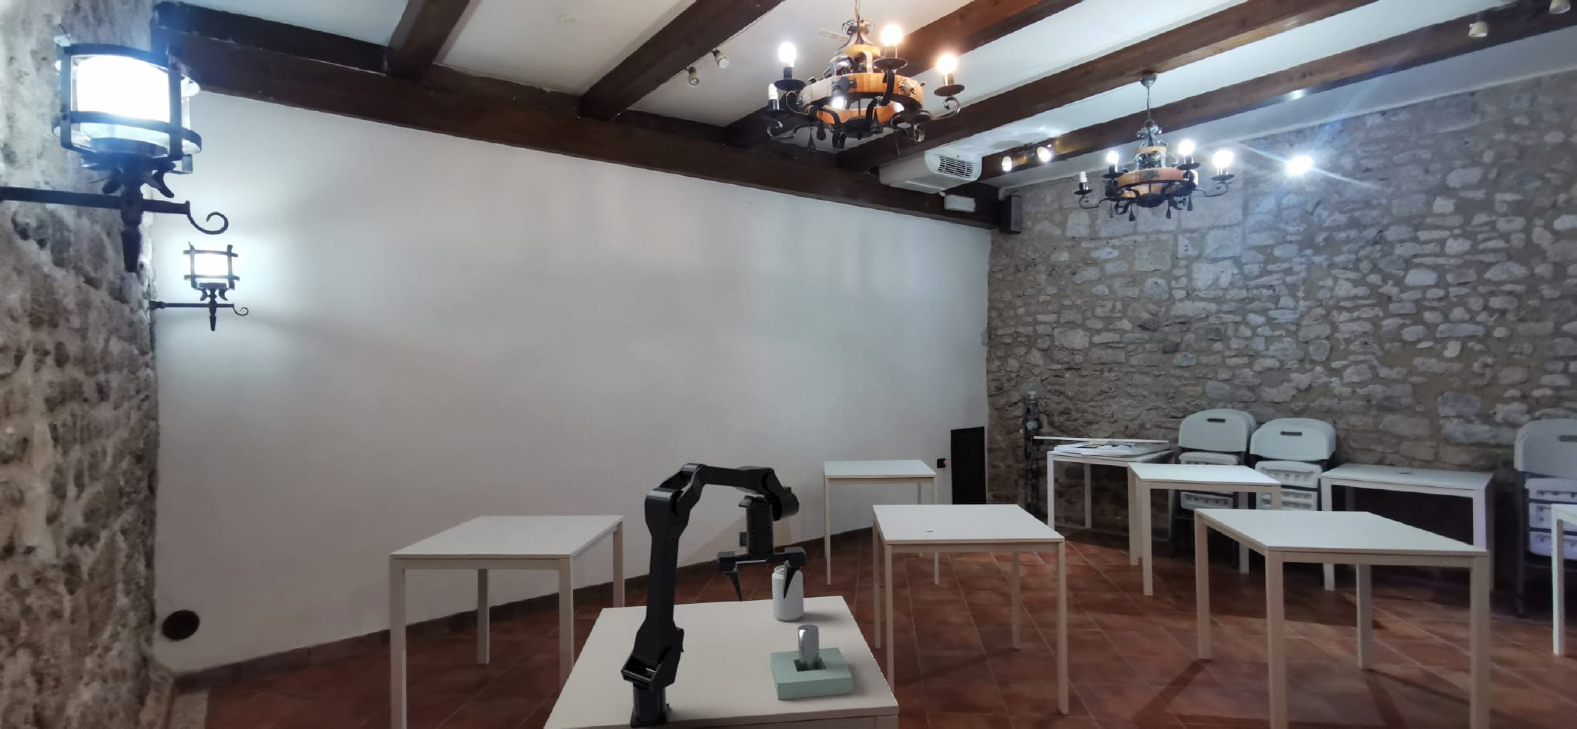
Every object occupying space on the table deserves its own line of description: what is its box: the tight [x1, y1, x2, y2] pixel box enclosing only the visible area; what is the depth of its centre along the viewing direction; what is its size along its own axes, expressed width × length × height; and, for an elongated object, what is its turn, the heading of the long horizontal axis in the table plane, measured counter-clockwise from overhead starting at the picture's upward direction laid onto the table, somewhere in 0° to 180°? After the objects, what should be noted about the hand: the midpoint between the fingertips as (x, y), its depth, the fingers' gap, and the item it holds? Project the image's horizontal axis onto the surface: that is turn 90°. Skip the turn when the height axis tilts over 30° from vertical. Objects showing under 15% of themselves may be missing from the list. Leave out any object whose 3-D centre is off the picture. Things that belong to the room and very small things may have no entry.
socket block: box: [770, 647, 854, 701], centre depth 138 cm, size 14×14×3 cm
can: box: [771, 564, 805, 622], centre depth 173 cm, size 8×8×12 cm
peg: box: [797, 624, 820, 672], centre depth 138 cm, size 4×4×10 cm
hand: (762, 599), depth 150 cm, fingers open, 9 cm apart
